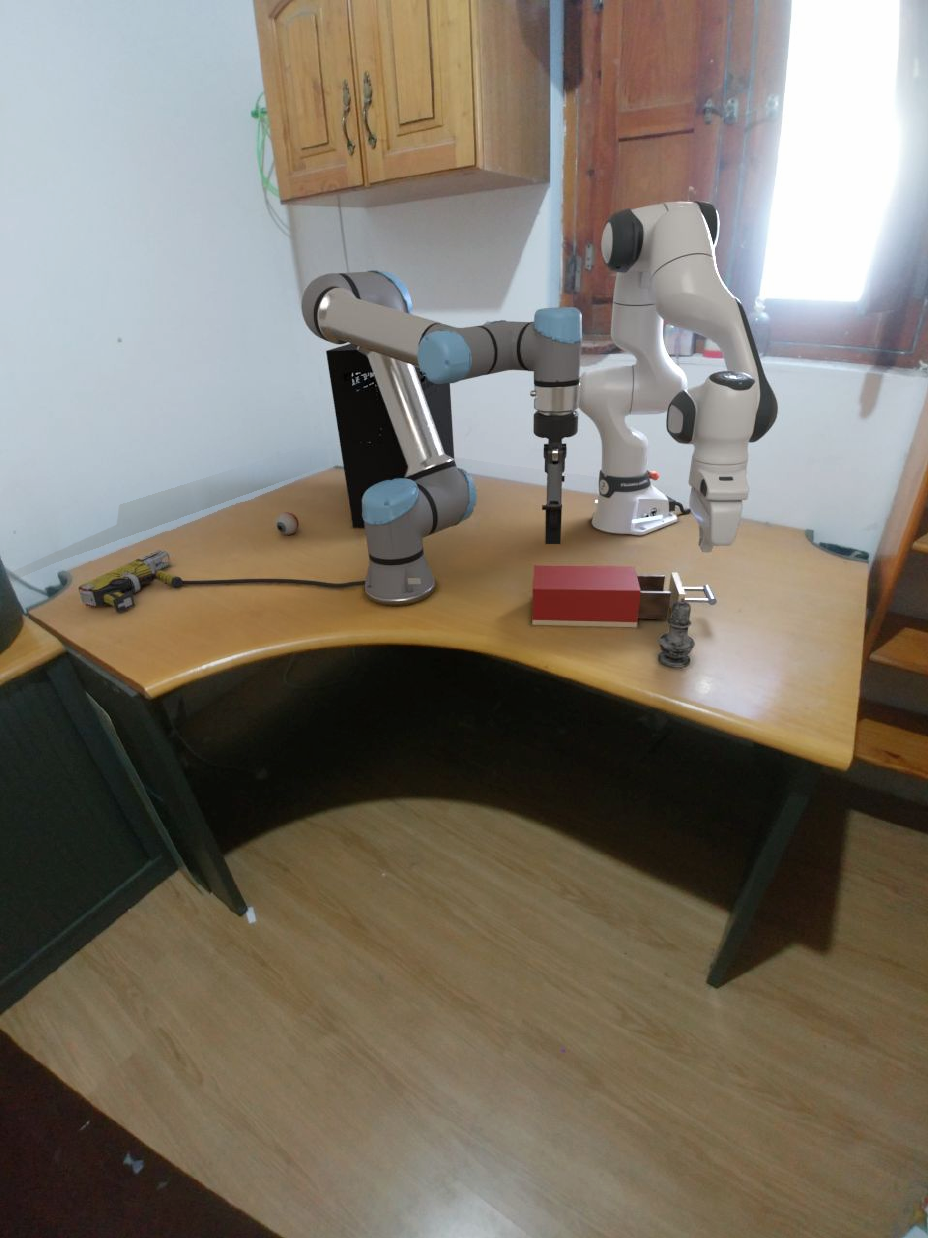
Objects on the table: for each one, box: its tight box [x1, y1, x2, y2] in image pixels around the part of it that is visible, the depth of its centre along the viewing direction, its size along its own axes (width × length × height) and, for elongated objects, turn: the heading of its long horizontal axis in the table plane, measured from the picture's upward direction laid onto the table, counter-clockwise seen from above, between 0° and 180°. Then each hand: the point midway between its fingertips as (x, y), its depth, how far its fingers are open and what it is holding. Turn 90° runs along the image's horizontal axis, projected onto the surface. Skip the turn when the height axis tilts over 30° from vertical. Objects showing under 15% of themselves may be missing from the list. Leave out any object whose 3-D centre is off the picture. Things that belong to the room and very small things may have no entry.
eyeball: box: [275, 511, 300, 536], centre depth 163 cm, size 6×6×6 cm
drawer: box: [637, 571, 718, 620], centre depth 116 cm, size 25×9×6 cm, turn 82°
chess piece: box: [657, 598, 696, 668], centre depth 101 cm, size 6×6×12 cm
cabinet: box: [531, 564, 641, 628], centre depth 118 cm, size 20×10×8 cm, turn 82°
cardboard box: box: [325, 343, 455, 529], centre depth 169 cm, size 38×20×45 cm, turn 167°
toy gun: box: [78, 549, 183, 614], centre depth 138 cm, size 5×24×15 cm
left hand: (553, 529), depth 112 cm, fingers open, 13 cm apart
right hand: (704, 549), depth 110 cm, fingers closed
